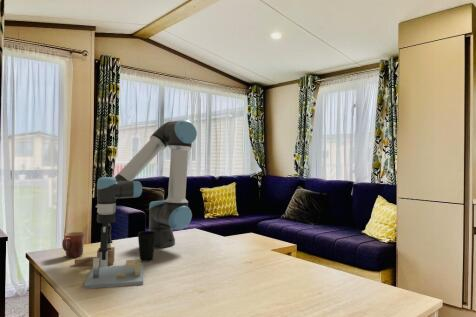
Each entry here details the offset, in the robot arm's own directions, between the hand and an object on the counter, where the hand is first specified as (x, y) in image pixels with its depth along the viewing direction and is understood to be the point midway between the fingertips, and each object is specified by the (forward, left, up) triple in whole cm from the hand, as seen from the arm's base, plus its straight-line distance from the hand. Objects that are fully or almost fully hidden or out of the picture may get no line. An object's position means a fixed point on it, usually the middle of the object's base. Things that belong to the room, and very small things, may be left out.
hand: (105, 262), depth 154 cm
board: (-6, +19, 0) cm, 20 cm away
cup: (-17, -2, 0) cm, 17 cm away
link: (+4, 0, 0) cm, 4 cm away
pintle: (+1, +22, +1) cm, 22 cm away
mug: (+16, -13, 0) cm, 21 cm away
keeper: (-11, +21, +1) cm, 24 cm away
